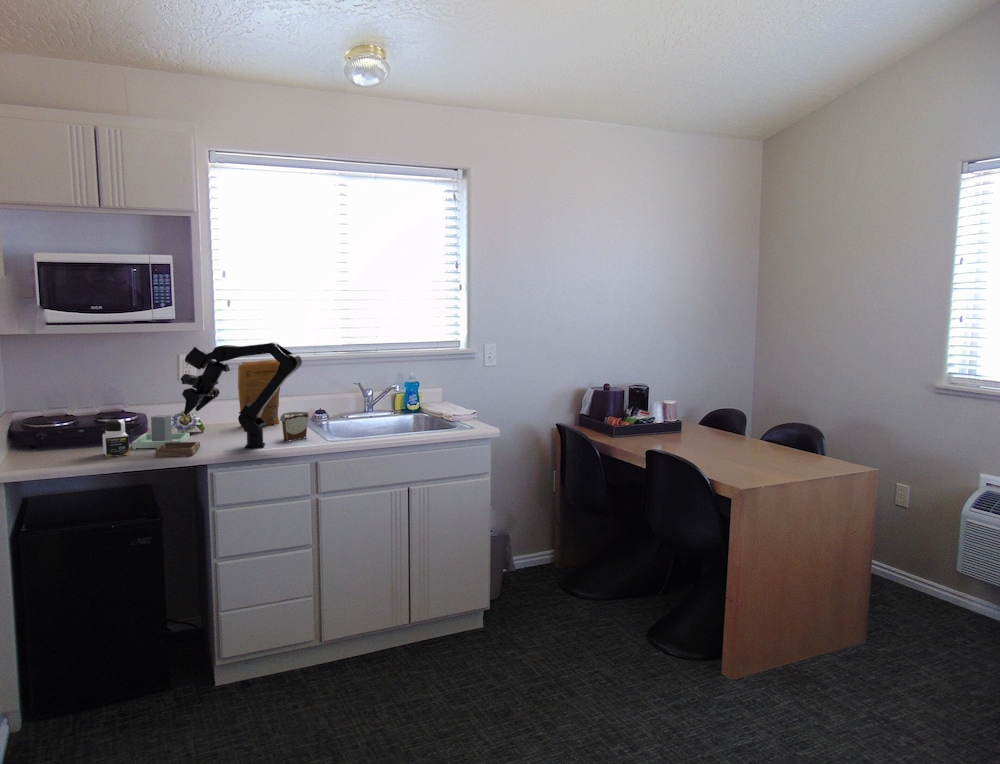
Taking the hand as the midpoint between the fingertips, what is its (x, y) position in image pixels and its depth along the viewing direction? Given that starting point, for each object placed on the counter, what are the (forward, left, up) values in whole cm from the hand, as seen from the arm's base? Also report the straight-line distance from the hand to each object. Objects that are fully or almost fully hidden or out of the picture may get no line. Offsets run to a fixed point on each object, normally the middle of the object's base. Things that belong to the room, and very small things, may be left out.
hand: (190, 412), depth 269 cm
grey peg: (-3, -11, -12) cm, 16 cm away
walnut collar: (+12, -2, -12) cm, 17 cm away
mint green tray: (-3, -11, -12) cm, 17 cm away
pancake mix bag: (-38, +20, -12) cm, 45 cm away
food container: (-8, +35, -12) cm, 38 cm away
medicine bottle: (+13, -22, -12) cm, 28 cm away
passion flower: (-23, -7, -13) cm, 27 cm away
